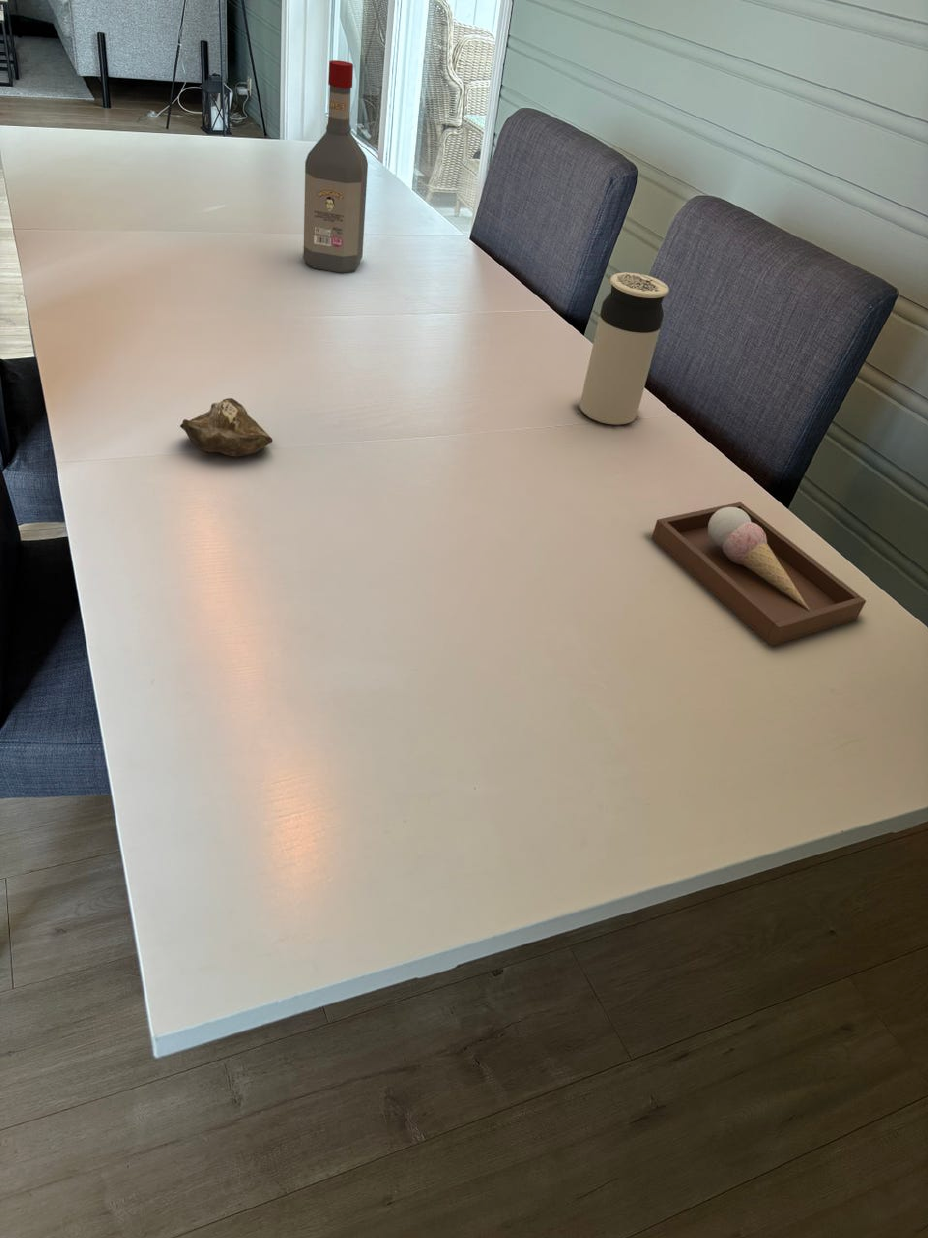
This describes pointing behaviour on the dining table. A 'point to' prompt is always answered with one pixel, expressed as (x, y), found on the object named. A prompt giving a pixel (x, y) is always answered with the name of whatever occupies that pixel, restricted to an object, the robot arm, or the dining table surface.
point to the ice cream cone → (749, 548)
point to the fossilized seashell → (226, 430)
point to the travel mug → (623, 348)
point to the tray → (760, 579)
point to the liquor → (335, 185)
